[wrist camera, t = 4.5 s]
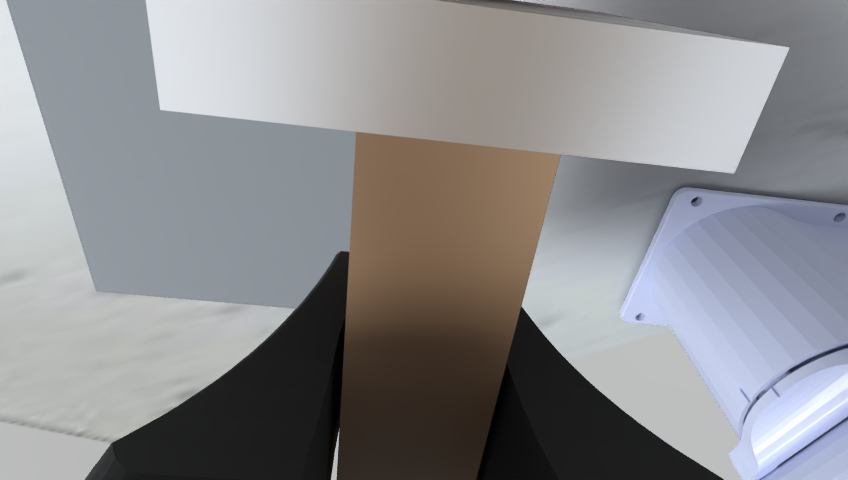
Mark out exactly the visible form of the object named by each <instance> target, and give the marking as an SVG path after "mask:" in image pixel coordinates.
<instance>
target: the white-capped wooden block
mask: <svg viewBox="0 0 848 480" xmlns="http://www.w3.org/2000/svg"><path fill="white" fill-rule="evenodd" d="M146 7H147V14H148V22H149V30H150V37H151V45H152V52H153V60H154V67H155V75H156V83H157V90H158V98H159V105H160V110H165V111H174V112H183V113H192V114H201V115H210V116H219V117H228V118H237V119H246V120H255V121H264V122H273V123H283V124H292V125H301V126H310V127H319V128H328V129H337V130H346V131H355V132H356V142H355V160H354V178H353V196H352V214H351V232H350V250H349V268H348V286H347V304H346V322H345V340H344V358H343V376H342V394H341V412H340V430H339V449H338V466H337V480H476V478H477V474H478V471H479V467H480V463H481V459H482V455H483V451H484V448H485V444H486V440H487V436H488V432H489V428H490V424H491V421H492V417H493V413H494V409H495V405H496V401H497V398H498V394H499V390H500V386H501V382H502V378H503V374H504V371H505V367H506V363H507V359H508V355H509V351H510V348H511V344H512V340H513V336H514V332H515V328H516V325H517V321H518V317H519V313H520V309H521V305H522V301H523V298H524V294H525V290H526V286H527V282H528V278H529V275H530V271H531V267H532V263H533V259H534V255H535V252H536V248H537V244H538V240H539V236H540V232H541V228H542V225H543V221H544V217H545V213H546V209H547V205H548V202H549V198H550V194H551V190H552V186H553V182H554V178H555V175H556V171H557V167H558V163H559V159H560V155H561V154H562V155H571V156H580V157H589V158H598V159H607V160H616V161H625V162H634V163H643V164H652V165H661V166H670V167H679V168H688V169H697V170H706V171H715V172H724V173H733V174H734V173H735V171H736V168H737V166H738V164H739V162H740V159H741V157H742V155H743V153H744V150H745V148H746V146H747V143H748V141H749V139H750V137H751V134H752V132H753V130H754V128H755V125H756V123H757V121H758V119H759V116H760V114H761V112H762V109H763V107H764V105H765V103H766V100H767V98H768V96H769V94H770V91H771V89H772V87H773V84H774V82H775V80H776V78H777V75H778V73H779V71H780V69H781V66H782V64H783V62H784V60H785V57H786V55H787V53H788V50H789V48H790V47H785V46H779V45H774V44H768V43H763V42H757V41H752V40H747V39H741V38H736V37H730V36H725V35H719V34H714V33H708V32H703V31H698V30H692V29H687V28H681V27H676V26H670V25H665V24H659V23H654V22H649V21H643V20H638V19H632V18H627V17H621V16H616V15H610V14H605V13H600V12H594V11H588V10H581V9H574V8H566V7H559V6H551V5H544V4H536V3H529V2H522V1H514V0H146Z"/></svg>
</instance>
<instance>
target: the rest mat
mask: <svg viewBox="0 0 848 480" xmlns="http://www.w3.org/2000/svg"><path fill="white" fill-rule="evenodd" d="M6 1H7V4H8V7H9V11H10V14H11V17H12V20H13V24H14V27H15V30H16V33H17V37H18V40H19V43H20V46H21V50H22V53H23V56H24V59H25V63H26V66H27V69H28V72H29V75H30V79H31V82H32V85H33V88H34V92H35V95H36V98H37V101H38V105H39V108H40V111H41V114H42V118H43V121H44V124H45V127H46V131H47V134H48V137H49V140H50V144H51V147H52V150H53V153H54V157H55V160H56V163H57V166H58V169H59V173H60V176H61V179H62V182H63V186H64V189H65V192H66V195H67V199H68V202H69V205H70V208H71V212H72V215H73V218H74V221H75V225H76V228H77V231H78V234H79V238H80V241H81V244H82V247H83V250H84V254H85V257H86V260H87V263H88V267H89V270H90V273H91V276H92V280H93V283H94V286H95V289H96V291H98V292H110V293H121V294H133V295H144V296H156V297H168V298H179V299H191V300H202V301H214V302H226V303H237V304H249V305H260V306H272V307H284V308H295V309H296V308H297V307H298V306H299V305H300V304H301V303H302V301H303V300H304V299H305V298H306V297H307V295H308V294H309V293H310V292H311V290H312V289H313V288H314V287H315V285H316V284H317V283H318V281H319V280H320V279H321V277H322V276H323V275H324V273H325V272H326V270H327V269H328V267H329V266H330V264H331V263H332V261H333V259H334V257H335V256H336V254H337V253H339V252H340V251H347V252H349V250H350V232H351V214H352V196H353V178H354V160H355V142H356V132H355V131H346V130H337V129H328V128H319V127H310V126H301V125H292V124H283V123H273V122H264V121H255V120H246V119H237V118H228V117H219V116H210V115H201V114H192V113H183V112H174V111H165V110H160V105H159V98H158V90H157V83H156V75H155V67H154V60H153V52H152V45H151V37H150V30H149V22H148V14H147V7H146V0H6Z"/></svg>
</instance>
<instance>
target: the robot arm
mask: <svg viewBox="0 0 848 480" xmlns="http://www.w3.org/2000/svg"><path fill="white" fill-rule="evenodd" d="M695 197H698V199H697V200H696V201H695V202H692V203H691V201H692V200H693V198H695ZM837 214H838V215H837ZM836 215H837V216H836ZM835 216H836V217H835ZM348 268H349V252H347V251H340V252H339V253H337V254H336V256H335V257H334V259H333V261H332V263H331V264H330V266H329V267H328V269H327V270H326V272H325V273H324V275H323V276H322V277H321V279H320V280H319V281H318V283H317V284H316V285H315V287H314V288H313V289H312V290H311V292H310V293H309V294H308V295H307V297H306V298H305V299H304V300H303V301H302V303H301V304H300V305H299V306H298V307H297V308H296V309H295V310H294V311H293V313H292V314H291V315H290V316H289V317H288V318H287V319H286V320H285V321H284V322H283V323H282V324H281V325H280V326H279V327H278V328H277V329H276V330H275V331H274V332H273V333H272V334H271V335H270V336H269V337H268V338H267V339H266V340H265V341H264V342H263V343H262V344H261V345H259V346H258V347H257V348H256V349H255V350H254V351H253V352H251V353H250V354H249V355H248V356H247V357H245V358H244V359H243V360H242V361H240V362H239V363H238V364H237V365H235V366H234V367H233V368H232V369H231V370H229V371H228V372H227V373H225V374H224V375H223V376H221V377H220V378H219V379H217V380H216V381H215V382H213V383H212V384H210V385H209V386H207V387H206V388H204V389H203V390H201V391H200V392H198V393H197V394H195V395H194V396H192V397H191V398H189V399H188V400H186V401H185V402H183V403H182V404H180V405H179V406H177V407H176V408H174V409H172V410H171V411H169V412H168V413H166V414H164V415H163V416H161V417H159V418H157V419H155V420H153V421H152V422H150V423H148V424H146V425H144V426H143V427H141V428H139V429H137V430H135V431H134V432H132V433H130V434H128V435H126V436H125V437H123V438H121V439H119V440H117V441H115V442H113V443H111V445H110V446H109V448H108V449H107V450H106V452H105V453H104V455H103V456H102V457H101V458H100V460H99V461H98V462H97V464H96V465H95V466H94V467H93V469H92V470H91V472H90V473H89V475H88V476H87V477H86V479H85V480H331V474H332V466H333V460H334V452H335V447H336V442H337V437H338V432H339V428H340V412H341V394H342V376H343V358H344V340H345V322H346V304H347V286H348ZM640 313H641V314H640ZM638 314H640V315H638ZM636 315H637V316H636ZM620 316H621V318H622V320H623V321H624V322H628V323H639V324H650V325H662V326H669V327H670V328H671V330H672V332H673V333H674V335H675V336H676V338H677V340H678V341H679V343H680V345H681V346H682V348H683V349H684V351H685V353H686V354H687V356H688V358H689V359H690V361H691V362H692V364H693V366H694V367H695V369H696V370H697V372H698V373H699V375H700V377H701V378H702V380H703V381H704V383H705V385H706V387H707V388H708V390H709V391H710V393H711V395H712V396H713V398H714V400H715V401H716V403H717V404H718V406H719V408H720V409H721V411H722V413H723V414H724V416H725V417H726V419H727V421H728V422H729V424H730V425H731V427H732V429H733V430H734V432H735V434H736V435H737V437H738V438H739V440H740V442H739V444H738V445H737V446H736V447H735V448H734V449H733V450H732V451H731V452H730V453H729V454H728V456H729V458H730V460H731V461H732V463H733V465H734V466H735V468H736V470H737V472H738V473H739V475H740V477H741V478H742V480H848V205H841V204H832V203H823V202H814V201H805V200H796V199H787V198H778V197H769V196H760V195H752V194H743V193H734V192H725V191H716V190H707V189H698V188H689V187H684V188H681V189H678V190H677V191H676V192H675V193H674V194H673V196H672V198H671V200H670V202H669V204H668V207H667V209H666V211H665V213H664V215H663V218H662V220H661V222H660V224H659V226H658V229H657V231H656V233H655V235H654V237H653V240H652V242H651V244H650V246H649V248H648V251H647V253H646V255H645V257H644V259H643V262H642V264H641V266H640V268H639V270H638V273H637V275H636V277H635V279H634V281H633V284H632V286H631V288H630V290H629V292H628V295H627V297H626V299H625V301H624V303H623V306H622V308H621V310H620ZM476 480H723V479H722V478H721V477H719V476H718V475H716V474H714V473H713V472H711V471H710V470H708V469H706V468H705V467H703V466H701V465H700V464H699V463H697V462H695V461H694V460H692V459H691V458H689V457H687V456H686V455H684V454H683V453H681V452H679V451H678V450H676V449H675V448H673V447H672V446H670V445H669V444H667V443H666V442H664V441H663V440H662V439H660V438H659V437H657V436H656V435H655V434H653V433H652V432H651V431H649V430H648V429H646V428H645V427H644V426H642V425H641V424H639V423H638V422H637V421H636V420H634V419H633V418H632V417H630V416H629V415H628V414H626V413H625V412H624V411H623V410H621V409H620V408H619V407H618V406H617V405H615V404H614V403H613V402H612V401H611V400H609V399H608V398H607V397H606V396H605V395H603V394H602V393H601V392H600V391H599V390H597V389H596V388H595V387H594V386H593V385H592V384H591V383H590V382H589V381H587V380H586V379H585V378H584V377H583V376H582V375H581V374H580V373H579V372H578V371H577V370H576V369H575V368H574V367H573V366H572V365H571V364H570V363H569V362H568V361H567V360H566V359H565V358H564V357H563V356H562V355H561V354H560V353H559V352H558V350H557V349H556V348H555V347H554V346H553V345H552V344H551V343H550V341H549V340H548V339H547V338H546V337H545V336H544V335H543V333H542V332H541V331H540V330H539V328H538V327H537V326H536V325H535V323H534V322H533V321H532V319H531V318H530V317H529V316H528V314H527V313H526V312H525V310H524V309H523V308H522V306H521V309H520V313H519V317H518V321H517V325H516V328H515V332H514V336H513V340H512V344H511V348H510V351H509V355H508V359H507V363H506V367H505V371H504V374H503V378H502V382H501V386H500V390H499V394H498V398H497V401H496V405H495V409H494V413H493V417H492V421H491V424H490V428H489V432H488V436H487V440H486V444H485V448H484V451H483V455H482V459H481V463H480V467H479V471H478V474H477V478H476Z"/></svg>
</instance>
